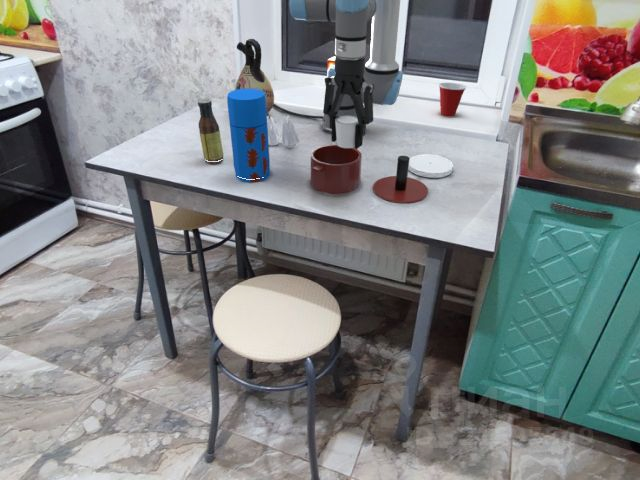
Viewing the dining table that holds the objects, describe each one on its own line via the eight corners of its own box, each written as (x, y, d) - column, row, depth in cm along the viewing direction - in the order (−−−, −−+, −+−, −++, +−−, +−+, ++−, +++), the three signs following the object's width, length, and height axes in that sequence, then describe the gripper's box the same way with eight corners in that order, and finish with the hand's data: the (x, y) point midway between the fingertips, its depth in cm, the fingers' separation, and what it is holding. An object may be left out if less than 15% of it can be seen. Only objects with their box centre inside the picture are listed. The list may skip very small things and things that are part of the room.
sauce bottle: (227, 158, 157) (220, 98, 145) (218, 166, 152) (210, 105, 140) (209, 156, 158) (201, 96, 147) (200, 163, 153) (191, 102, 142)
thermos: (236, 167, 151) (228, 88, 137) (270, 166, 152) (265, 87, 138) (234, 183, 142) (225, 100, 128) (270, 182, 143) (265, 99, 129)
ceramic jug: (228, 116, 190) (220, 36, 173) (260, 108, 198) (254, 31, 182) (253, 128, 179) (247, 44, 163) (285, 118, 188) (282, 38, 171)
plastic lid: (442, 184, 142) (444, 177, 141) (399, 173, 148) (400, 166, 147) (458, 167, 152) (459, 160, 150) (417, 157, 158) (418, 150, 157)
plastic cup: (465, 113, 195) (470, 83, 188) (456, 120, 187) (461, 90, 181) (440, 108, 200) (444, 79, 193) (430, 115, 192) (434, 85, 185)
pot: (295, 189, 139) (294, 160, 134) (333, 166, 152) (334, 138, 147) (337, 204, 132) (338, 173, 127) (373, 178, 145) (375, 149, 140)
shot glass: (357, 150, 128) (359, 125, 124) (332, 148, 129) (333, 123, 125) (360, 140, 133) (362, 116, 129) (336, 138, 135) (337, 114, 131)
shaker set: (300, 146, 165) (299, 115, 159) (295, 150, 162) (294, 119, 156) (270, 140, 169) (268, 110, 163) (264, 145, 166) (262, 114, 160)
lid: (362, 194, 137) (364, 160, 131) (389, 174, 147) (392, 142, 141) (412, 211, 129) (417, 175, 123) (436, 189, 140) (441, 155, 134)
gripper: (308, 53, 120) (309, 139, 133) (377, 66, 111) (371, 156, 124) (325, 48, 125) (324, 131, 138) (392, 59, 116) (385, 147, 129)
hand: (346, 143), depth 131 cm, fingers closed on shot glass, 7 cm apart
